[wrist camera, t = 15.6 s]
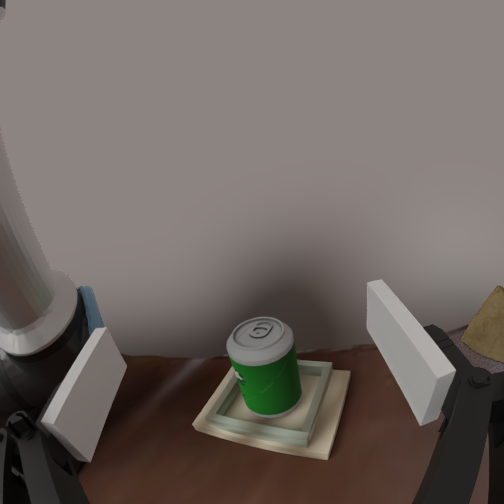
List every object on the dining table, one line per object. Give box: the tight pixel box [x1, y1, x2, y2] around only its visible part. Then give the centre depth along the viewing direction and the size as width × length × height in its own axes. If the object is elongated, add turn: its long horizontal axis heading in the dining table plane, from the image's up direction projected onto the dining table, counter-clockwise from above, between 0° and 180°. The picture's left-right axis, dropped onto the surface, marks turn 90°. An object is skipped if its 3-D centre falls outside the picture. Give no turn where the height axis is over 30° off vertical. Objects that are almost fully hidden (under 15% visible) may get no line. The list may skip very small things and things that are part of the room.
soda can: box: [226, 317, 302, 418], centre depth 34 cm, size 8×8×12 cm
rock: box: [460, 286, 504, 363], centre depth 31 cm, size 11×9×10 cm
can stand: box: [192, 360, 350, 460], centre depth 36 cm, size 18×14×4 cm
